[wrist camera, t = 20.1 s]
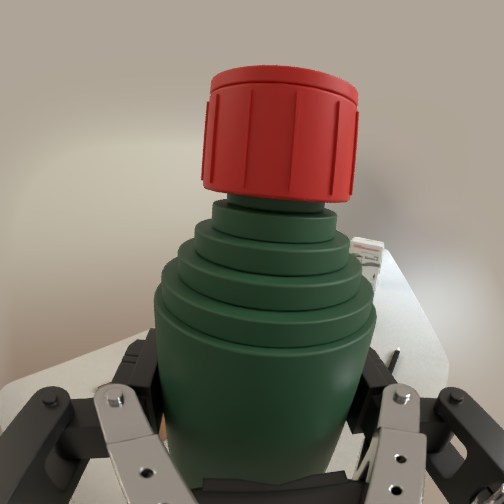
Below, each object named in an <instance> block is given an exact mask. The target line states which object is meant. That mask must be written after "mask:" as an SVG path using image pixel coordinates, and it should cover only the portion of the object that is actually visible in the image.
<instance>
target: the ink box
mask: <svg viewBox="0 0 504 504" xmlns="http://www.w3.org/2000/svg"><path fill="white" fill-rule="evenodd" d="M384 245H385V244H384V243H383V242H379V241H374V240H370V239H365V238H360V237H354V238H353V239H352V240H351V243H350V250H349V253H351V254H352V255H354V256H355V257H356V258H357V259H358V260H359V261H360V262H361V264H362V269H363V270H362V275H363V276H364V277H366V278H367V279H368V281H369V282H370V283H371V285H372V287H373V291H375V289H376V286H377V282H378V277H379V272H380V267H381V262H382V256H383V251H384Z"/></svg>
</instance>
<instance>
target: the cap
mask: <svg viewBox="0 0 504 504" xmlns="http://www.w3.org/2000/svg"><path fill="white" fill-rule="evenodd" d="M210 94H211V96H210V101H209V102H207V109H206V121H205V133H204V146H203V160H202V174H201V175H202V176H201V180H203V186H204V188H205V189H208V190H212V191H216V192H222V193H228V194H235V195H243V196H253V197H262V198H272V199H283V200H295V201H307V202H326V203H328V202H329V203H340V202H347V201H348V200H349V199H350V195H352V191H353V182H354V172H355V161H356V150H357V137H358V120H359V112H358V111H357V105H358V92H357V90H356V89H355V87H353V86H352V85H351V84H349V83H348V82H346V81H344V80H342V79H340V78H338V77H335V76H332V75H329V74H326V73H322V72H319V71H315V70H310V69H305V68H299V67H290V66H278V65H259V66H246V67H240V68H234V69H230V70H227V71H224V72H221V73H219V74H217V75H216V76H215V77H213V79H212V81H211V91H210Z"/></svg>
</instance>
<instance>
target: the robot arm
mask: <svg viewBox="0 0 504 504" xmlns="http://www.w3.org/2000/svg"><path fill="white" fill-rule="evenodd" d="M162 417H163V405H162V397H161V388H160V378H159V368H158V357H157V344H156V330H155V328H150V330H149V332H148V335H147V337H146V340H138V339H137V340H136V341H134V342H133V343H132V344H130V345H129V346H128V348H127V350H126V352H125V356H123V359H122V362H121V363H120V365H119V367H118V369H117V371H116V373H115V376H114V378H113V380H112V382H111V384H109V385H106V386H103V387H101V388H100V389H98V390H97V391H96V393H95V395H94V397H93V398H87V399H70V396H69V394H68V392H67V391H66V390H64V389H63V388H60V387H55V386H50V387H45V388H42V389H40V390H38V391H37V392H36V393H35V394H34V395H33V396H32V397H31V398H30V400H29V401H28V402H27V403H26V405H25V406H24V407H23V408H22V410H21V411H20V412H19V413H18V415H17V416H16V417H15V418H14V420H13V421H12V422H11V423H10V425H9V426H8V427H7V429H6V430H5V431H4V432H3V434H2V435H1V436H0V504H69V502H70V499H71V497H72V495H73V493H74V491H75V489H76V487H77V485H78V483H79V480H80V478H81V476H82V474H83V472H84V470H85V468H86V466H87V464H88V462H89V460H90V458H108V457H110V459H111V462H112V465H113V468H114V470H115V473H116V476H117V479H118V481H119V484H120V486H121V489H122V491H123V494H124V496H125V499H126V501H127V503H128V504H422V503H423V493H424V483H425V469H426V470H427V472H428V473H429V475H430V476H431V477H432V479H433V481H434V482H435V484H436V485H437V486H438V488H439V489H440V491H441V492H442V494H443V495H444V497H445V498H446V499H447V501H448V502H449V504H504V430H503V429H502V428H501V427H500V426H499V425H498V424H497V423H496V422H495V421H494V420H493V419H492V418H491V417H490V416H489V415H488V414H487V413H486V411H485V410H483V408H482V407H480V405H479V404H478V403H477V402H476V401H474V400H473V398H471V397H470V396H469V395H468V394H467V393H466V392H465V391H463V390H461V389H459V388H454V387H447V388H444V389H442V390H441V391H440V393H439V396H438V398H421V397H420V396H419V394H418V392H417V391H416V390H415V389H413V388H412V387H410V386H408V385H404V384H398V383H397V381H396V380H395V379H394V377H393V376H392V374H391V373H390V371H389V370H388V368H387V367H386V366H385V365H384V363H383V361H382V360H381V359H380V357H379V356H378V354H377V353H376V351H375V350H373V349H372V348H371V347H369V350H368V354H367V357H366V361H365V364H364V367H363V371H362V374H361V377H360V380H359V384H358V387H357V390H356V393H355V396H354V399H353V402H352V405H351V407H350V410H349V413H348V416H347V419H346V421H347V423H348V425H349V428H350V430H351V432H352V434H358V433H364V436H365V437H364V439H363V441H362V444H361V448H360V452H359V456H358V460H357V463H356V467H355V471H354V474H353V477H352V479H347V477H346V474H345V471H344V470H343V471H337V472H330V473H322V474H314V475H309V476H306V477H303V478H300V479H297V480H293V481H290V482H286V483H283V484H279V485H274V484H267V483H260V482H254V481H249V480H243V479H225V478H203V485H202V487H198V488H193V489H189V487H188V485H187V484H186V482H185V480H184V479H183V477H182V475H181V474H180V472H179V470H178V469H177V467H176V465H175V463H174V462H173V460H172V458H171V456H170V454H169V452H168V451H167V449H166V447H165V445H164V443H163V441H162V439H161V438H160V436H159V431H160V426H161V422H162ZM454 434H455V435H456V436H457V438H458V439H459V440H460V441H461V442H462V443H463V445H464V446H465V447H466V449H467V457H466V459H465V460H464V458H463V457H462V456H461V455H460V454H459V452H458V451H457V450H456V449H455V447H454V446H453V445H452V444H451V443H450V441H451V439H452V437H453V436H454Z"/></svg>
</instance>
